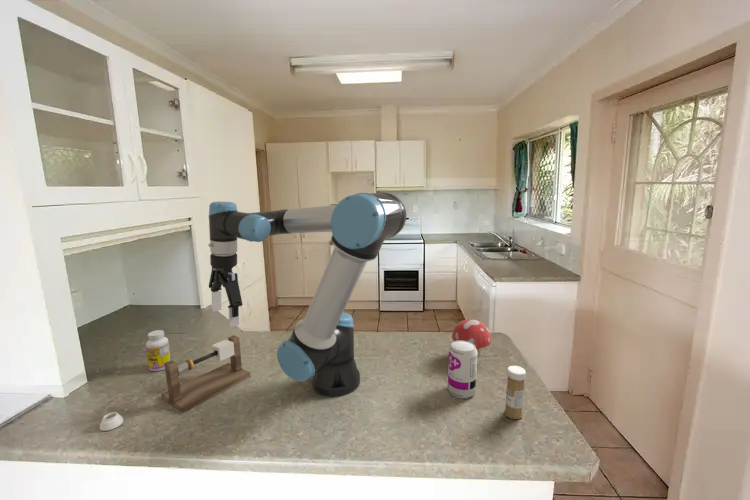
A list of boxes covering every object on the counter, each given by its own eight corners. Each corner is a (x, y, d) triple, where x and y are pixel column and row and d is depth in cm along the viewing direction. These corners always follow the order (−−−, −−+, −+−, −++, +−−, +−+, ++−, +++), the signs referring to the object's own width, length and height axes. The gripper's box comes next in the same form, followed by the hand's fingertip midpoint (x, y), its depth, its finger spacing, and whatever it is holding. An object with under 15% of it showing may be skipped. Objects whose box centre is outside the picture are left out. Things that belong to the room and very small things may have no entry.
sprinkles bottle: (501, 409, 96) (504, 365, 93) (517, 408, 96) (520, 364, 94) (509, 420, 91) (512, 374, 89) (525, 419, 92) (529, 373, 89)
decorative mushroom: (469, 373, 114) (471, 331, 111) (443, 356, 126) (444, 317, 123) (498, 363, 120) (500, 323, 118) (471, 348, 132) (472, 311, 129)
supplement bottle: (144, 369, 119) (139, 334, 116) (163, 360, 125) (158, 327, 122) (157, 373, 116) (152, 338, 114) (175, 364, 122) (171, 330, 120)
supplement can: (456, 402, 99) (457, 353, 97) (443, 386, 107) (444, 341, 104) (480, 397, 102) (483, 350, 99) (466, 382, 109) (468, 338, 107)
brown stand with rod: (250, 376, 114) (247, 340, 111) (183, 412, 96) (177, 370, 93) (229, 366, 120) (225, 332, 118) (162, 398, 102) (156, 359, 100)
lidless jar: (124, 425, 91) (122, 416, 95) (123, 415, 90) (120, 407, 94) (100, 435, 88) (99, 425, 91) (98, 424, 87) (97, 415, 91)
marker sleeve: (234, 354, 112) (233, 342, 112) (220, 361, 108) (219, 348, 108) (227, 351, 115) (226, 339, 114) (213, 357, 111) (211, 345, 110)
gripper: (196, 245, 110) (198, 307, 115) (227, 265, 93) (229, 336, 98) (220, 243, 116) (221, 302, 120) (254, 261, 98) (254, 329, 103)
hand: (225, 317), depth 109 cm, fingers open, 13 cm apart
